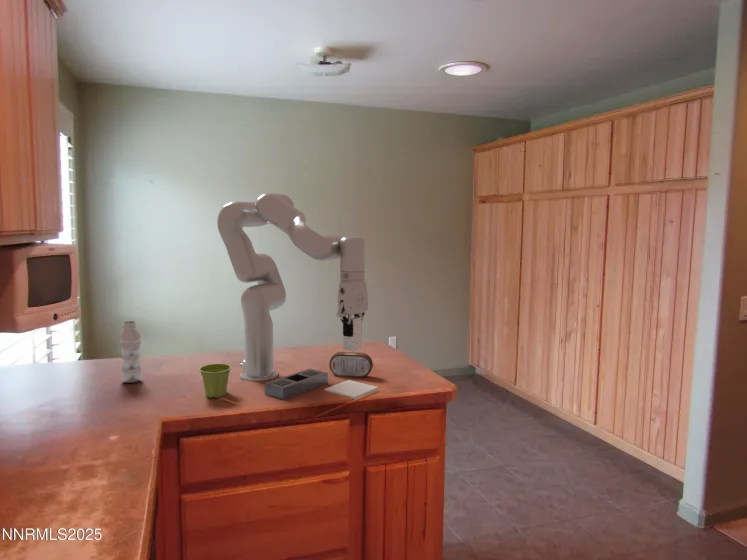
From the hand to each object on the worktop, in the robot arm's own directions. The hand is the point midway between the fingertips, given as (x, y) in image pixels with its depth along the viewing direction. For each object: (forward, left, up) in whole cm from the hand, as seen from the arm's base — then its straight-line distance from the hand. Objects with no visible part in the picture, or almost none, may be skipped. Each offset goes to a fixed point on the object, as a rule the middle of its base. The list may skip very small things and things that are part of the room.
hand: (352, 334), depth 168 cm
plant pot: (-30, -29, -19) cm, 46 cm away
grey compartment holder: (-14, -10, -18) cm, 25 cm away
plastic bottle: (-62, -38, -19) cm, 75 cm away
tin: (-10, +12, -19) cm, 24 cm away
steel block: (0, 0, -5) cm, 5 cm away
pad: (0, 0, -18) cm, 18 cm away
